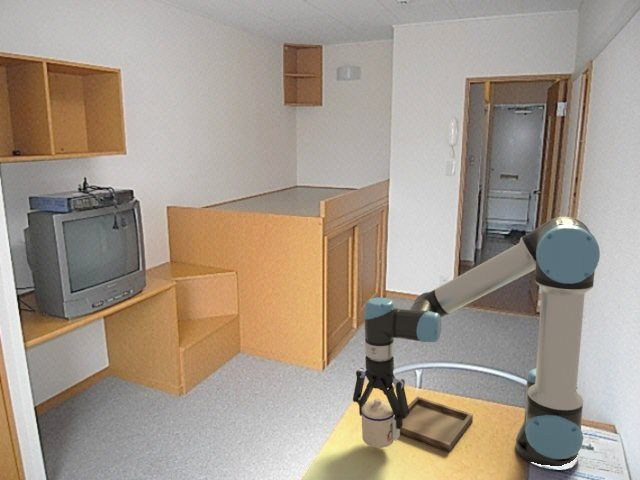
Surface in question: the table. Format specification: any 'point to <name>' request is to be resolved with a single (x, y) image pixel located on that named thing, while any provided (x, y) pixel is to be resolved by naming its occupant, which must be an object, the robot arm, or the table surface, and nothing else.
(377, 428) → the teacup with lid
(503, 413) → the table surface
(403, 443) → the table surface
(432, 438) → the walnut tray
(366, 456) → the table surface
